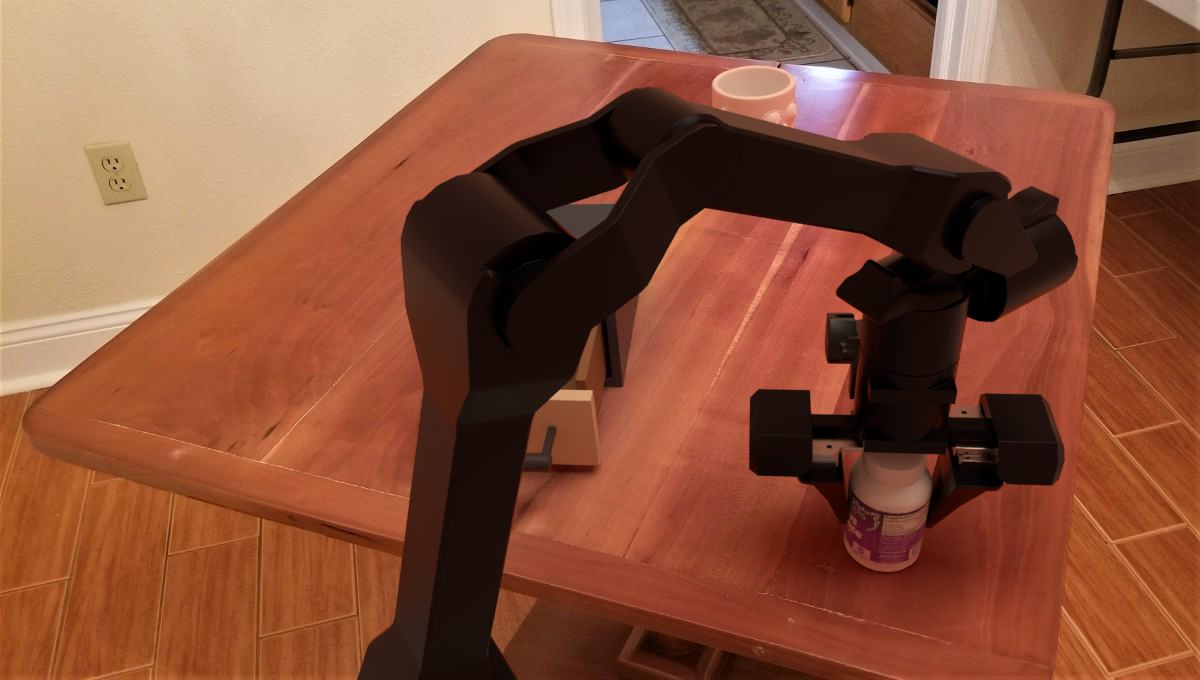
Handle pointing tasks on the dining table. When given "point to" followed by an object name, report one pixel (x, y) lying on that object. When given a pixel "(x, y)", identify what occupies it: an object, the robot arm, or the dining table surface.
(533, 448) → the drawer
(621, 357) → the cabinet
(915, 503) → the pill bottle
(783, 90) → the mug
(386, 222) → the dining table surface
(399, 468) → the dining table surface
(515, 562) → the dining table surface
